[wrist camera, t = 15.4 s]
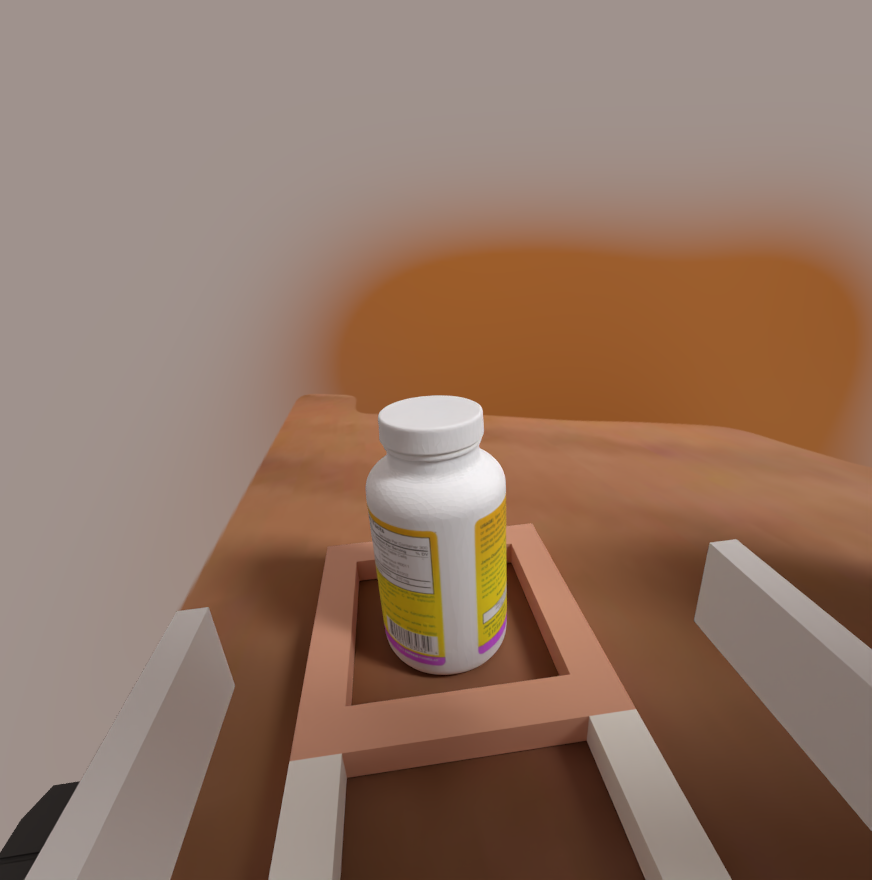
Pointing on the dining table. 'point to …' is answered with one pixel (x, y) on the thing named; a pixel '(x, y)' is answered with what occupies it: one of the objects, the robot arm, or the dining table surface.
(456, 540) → the supplement bottle
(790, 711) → the robot arm
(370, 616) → the dining table surface
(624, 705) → the rack
